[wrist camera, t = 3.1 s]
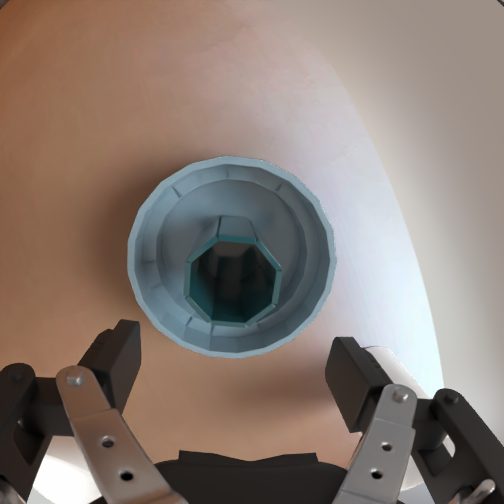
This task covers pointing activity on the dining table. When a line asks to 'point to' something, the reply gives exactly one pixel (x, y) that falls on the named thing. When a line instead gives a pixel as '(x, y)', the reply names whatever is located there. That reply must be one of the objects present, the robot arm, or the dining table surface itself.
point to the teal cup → (232, 273)
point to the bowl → (65, 474)
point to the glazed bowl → (268, 223)
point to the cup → (404, 378)
